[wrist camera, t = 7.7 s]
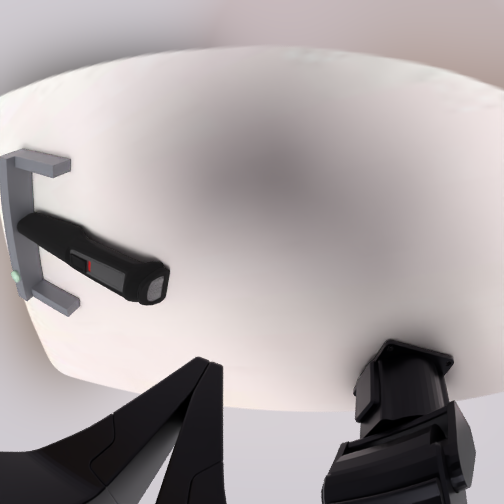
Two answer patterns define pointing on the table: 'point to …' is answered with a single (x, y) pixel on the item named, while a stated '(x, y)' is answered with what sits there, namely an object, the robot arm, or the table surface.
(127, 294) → the electric trimmer
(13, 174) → the charging dock
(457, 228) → the table surface
